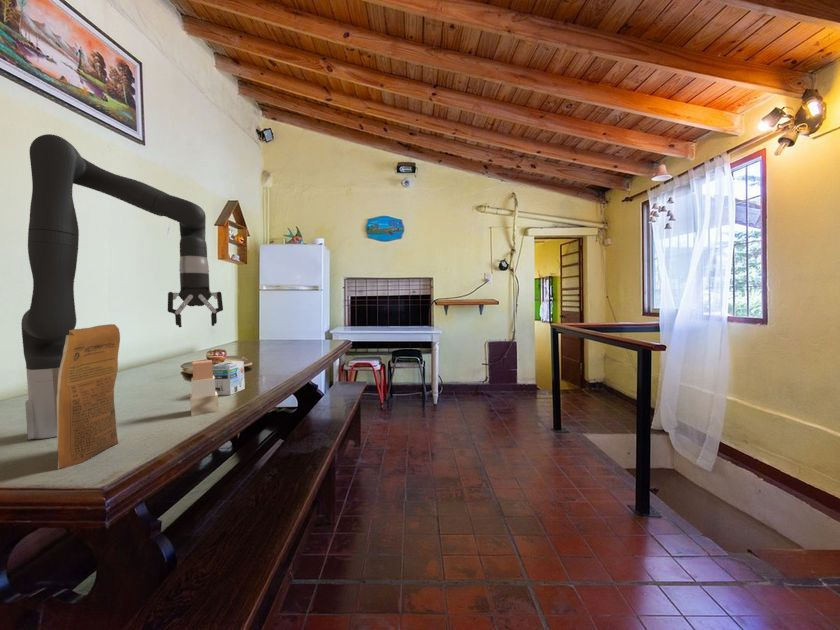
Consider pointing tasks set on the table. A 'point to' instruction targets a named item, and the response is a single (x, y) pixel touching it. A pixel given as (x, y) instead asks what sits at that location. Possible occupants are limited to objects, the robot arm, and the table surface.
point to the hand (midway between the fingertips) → (196, 326)
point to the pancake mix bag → (87, 394)
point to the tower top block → (203, 387)
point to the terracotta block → (202, 370)
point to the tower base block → (204, 404)
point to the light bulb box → (229, 377)
